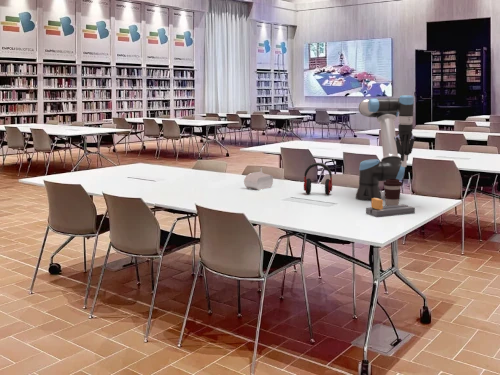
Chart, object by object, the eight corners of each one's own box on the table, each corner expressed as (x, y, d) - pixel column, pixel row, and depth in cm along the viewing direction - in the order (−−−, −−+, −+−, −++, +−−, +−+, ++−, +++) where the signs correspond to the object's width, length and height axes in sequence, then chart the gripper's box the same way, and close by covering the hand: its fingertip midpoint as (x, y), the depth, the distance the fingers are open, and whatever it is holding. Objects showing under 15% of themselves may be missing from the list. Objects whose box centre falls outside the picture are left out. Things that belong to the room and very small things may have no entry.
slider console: (365, 213, 323) (366, 207, 323) (403, 209, 332) (403, 204, 332) (376, 217, 314) (376, 211, 314) (414, 213, 323) (414, 207, 323)
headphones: (332, 193, 384) (332, 162, 380) (331, 196, 374) (331, 164, 371) (304, 192, 387) (305, 161, 384) (303, 195, 378) (303, 163, 374)
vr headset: (261, 185, 416) (261, 164, 414) (274, 187, 409) (274, 166, 406) (243, 189, 403) (243, 167, 400) (256, 190, 395) (256, 168, 393)
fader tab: (371, 211, 322) (371, 198, 321) (376, 210, 323) (376, 197, 322) (377, 213, 317) (378, 199, 315) (382, 212, 318) (382, 199, 317)
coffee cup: (392, 208, 337) (393, 181, 334) (379, 205, 345) (380, 179, 342) (404, 205, 343) (405, 179, 340) (391, 203, 350) (391, 177, 348)
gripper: (399, 124, 325) (397, 168, 329) (419, 124, 329) (417, 166, 334) (391, 123, 332) (389, 166, 336) (411, 123, 336) (410, 165, 341)
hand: (403, 166), depth 335 cm, fingers closed
